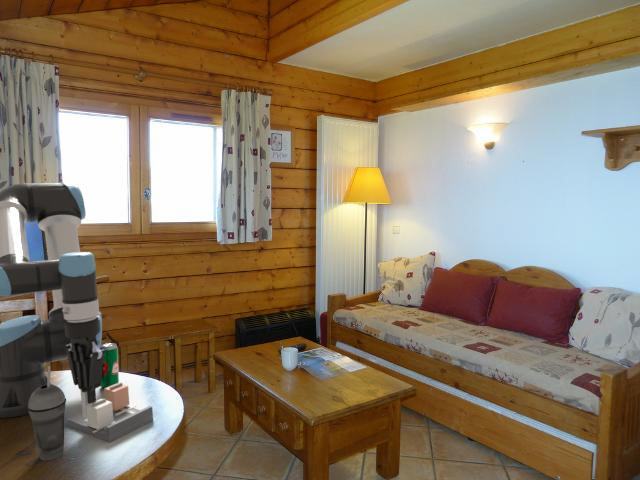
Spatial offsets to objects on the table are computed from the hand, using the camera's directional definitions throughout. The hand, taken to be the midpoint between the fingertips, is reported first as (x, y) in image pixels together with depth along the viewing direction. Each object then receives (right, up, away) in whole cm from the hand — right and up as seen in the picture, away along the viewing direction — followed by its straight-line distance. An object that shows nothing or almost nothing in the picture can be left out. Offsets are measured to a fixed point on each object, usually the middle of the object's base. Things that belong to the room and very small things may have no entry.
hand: (90, 414), depth 116 cm
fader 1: (+3, -2, -2) cm, 4 cm away
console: (+3, -3, +3) cm, 6 cm away
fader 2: (+3, -1, +8) cm, 9 cm away
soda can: (-6, -1, +25) cm, 26 cm away
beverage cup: (-3, -5, -11) cm, 12 cm away
